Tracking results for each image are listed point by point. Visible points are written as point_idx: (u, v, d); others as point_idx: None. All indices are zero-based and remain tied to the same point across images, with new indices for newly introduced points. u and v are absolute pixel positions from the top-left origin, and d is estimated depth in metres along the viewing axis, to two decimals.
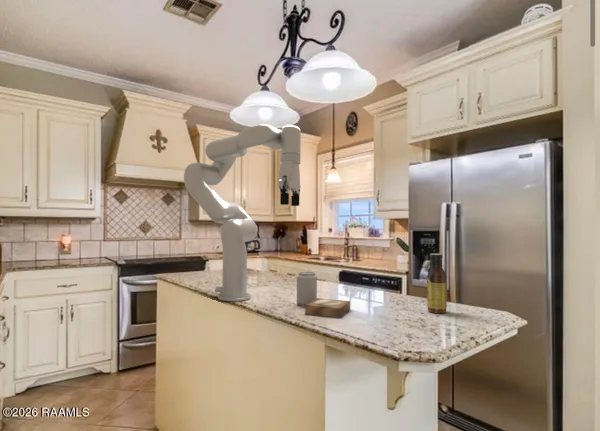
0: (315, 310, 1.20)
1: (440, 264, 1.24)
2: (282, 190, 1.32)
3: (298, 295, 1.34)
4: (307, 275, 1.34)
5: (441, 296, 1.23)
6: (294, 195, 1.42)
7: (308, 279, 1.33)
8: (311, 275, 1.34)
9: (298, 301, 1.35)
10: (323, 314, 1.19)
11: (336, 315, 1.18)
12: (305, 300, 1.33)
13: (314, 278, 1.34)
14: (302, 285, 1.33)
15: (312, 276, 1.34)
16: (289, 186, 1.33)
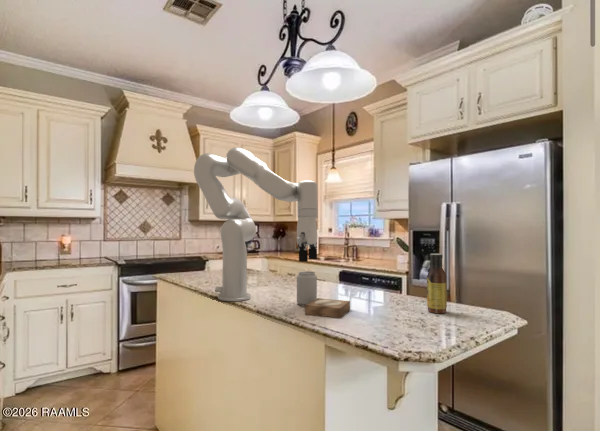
0: (315, 310, 1.20)
1: (440, 264, 1.24)
2: (301, 248, 1.31)
3: (298, 295, 1.34)
4: (307, 275, 1.34)
5: (441, 296, 1.23)
6: (311, 248, 1.41)
7: (308, 279, 1.33)
8: (311, 275, 1.34)
9: (298, 301, 1.35)
10: (323, 314, 1.19)
11: (336, 315, 1.18)
12: (305, 300, 1.33)
13: (314, 278, 1.34)
14: (302, 285, 1.33)
15: (312, 276, 1.34)
16: (307, 243, 1.32)
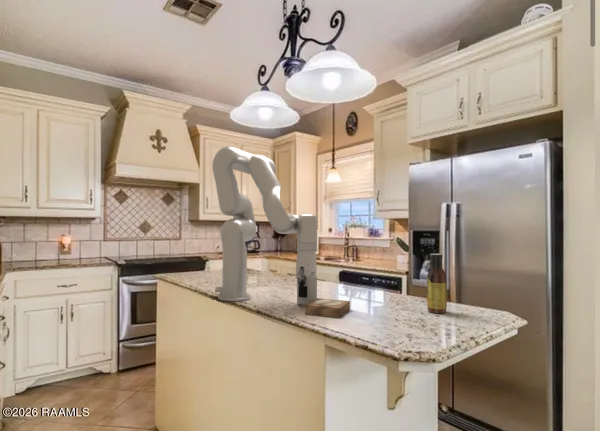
0: (315, 310, 1.20)
1: (440, 264, 1.24)
2: (300, 284, 1.31)
3: None
4: None
5: (441, 296, 1.23)
6: None
7: (308, 279, 1.33)
8: (311, 275, 1.34)
9: (298, 301, 1.35)
10: (323, 314, 1.19)
11: (336, 315, 1.18)
12: (305, 300, 1.33)
13: (314, 278, 1.34)
14: None
15: (312, 276, 1.34)
16: (306, 277, 1.32)
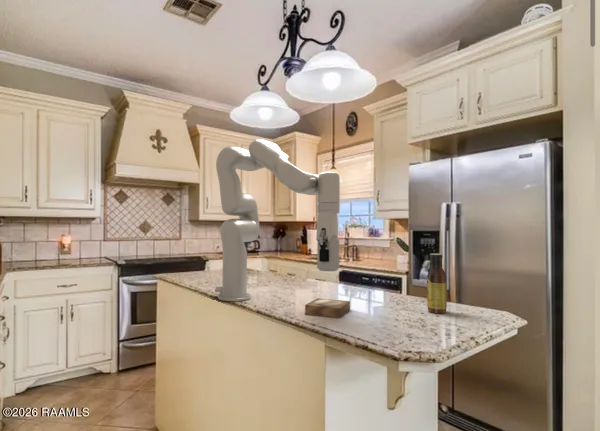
0: (315, 310, 1.20)
1: (440, 264, 1.24)
2: (322, 246, 1.20)
3: None
4: None
5: (441, 296, 1.23)
6: None
7: (330, 242, 1.22)
8: (333, 238, 1.23)
9: (319, 266, 1.23)
10: (323, 314, 1.19)
11: (336, 315, 1.18)
12: (327, 265, 1.22)
13: (337, 241, 1.23)
14: None
15: (335, 239, 1.23)
16: (328, 240, 1.21)
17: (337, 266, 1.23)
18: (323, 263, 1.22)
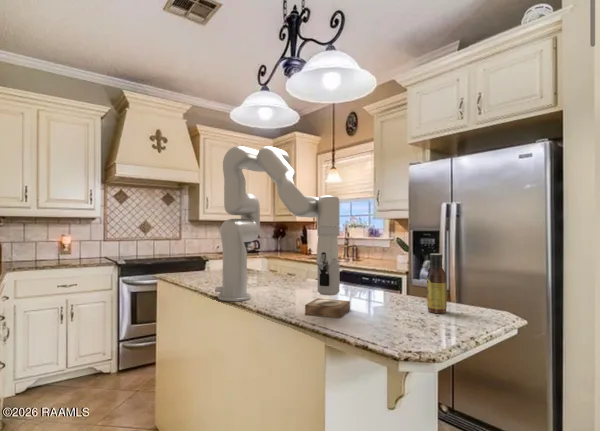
0: (315, 310, 1.20)
1: (440, 264, 1.24)
2: (322, 271, 1.20)
3: None
4: None
5: (441, 296, 1.23)
6: None
7: (330, 266, 1.22)
8: (334, 262, 1.23)
9: (319, 290, 1.23)
10: (323, 314, 1.19)
11: (336, 315, 1.18)
12: (328, 289, 1.21)
13: (337, 265, 1.23)
14: None
15: (335, 263, 1.23)
16: (329, 264, 1.21)
17: (337, 290, 1.23)
18: (323, 287, 1.22)
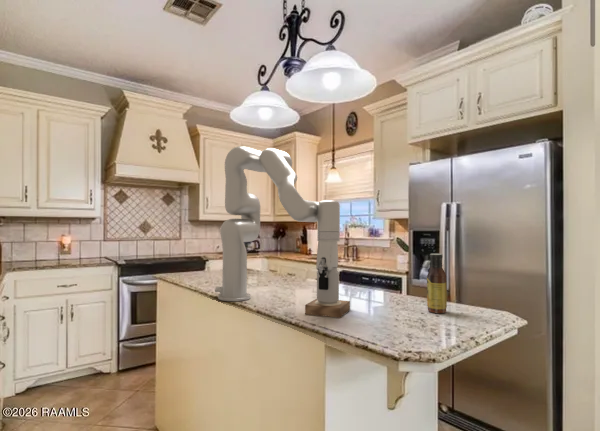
0: (315, 310, 1.20)
1: (440, 264, 1.24)
2: (321, 275, 1.19)
3: (319, 292, 1.23)
4: None
5: (441, 296, 1.23)
6: None
7: (330, 275, 1.22)
8: (333, 270, 1.23)
9: (319, 299, 1.23)
10: (323, 314, 1.19)
11: (336, 315, 1.18)
12: (327, 298, 1.22)
13: (336, 274, 1.23)
14: None
15: (334, 271, 1.23)
16: (329, 269, 1.21)
17: (336, 299, 1.23)
18: (322, 296, 1.22)
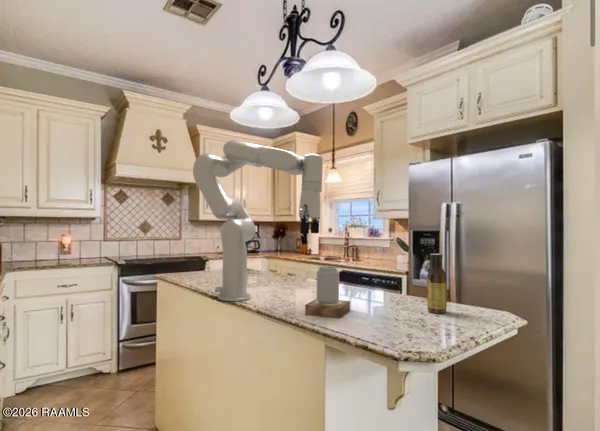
0: (315, 310, 1.20)
1: (440, 264, 1.24)
2: (302, 219, 1.32)
3: (319, 292, 1.23)
4: (329, 270, 1.22)
5: (441, 296, 1.23)
6: (314, 222, 1.42)
7: (330, 275, 1.22)
8: (333, 270, 1.23)
9: (319, 299, 1.23)
10: (323, 314, 1.19)
11: (336, 315, 1.18)
12: (327, 298, 1.22)
13: (336, 274, 1.23)
14: (323, 282, 1.22)
15: (334, 271, 1.23)
16: (309, 215, 1.33)
17: (336, 299, 1.23)
18: (322, 296, 1.22)
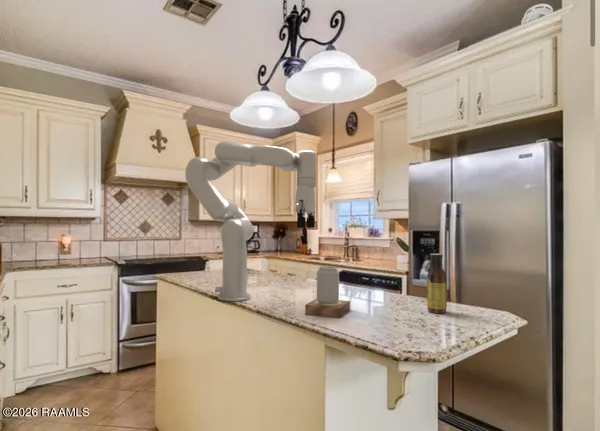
0: (315, 310, 1.20)
1: (440, 264, 1.24)
2: (299, 214, 1.36)
3: (319, 292, 1.23)
4: (329, 270, 1.22)
5: (441, 296, 1.23)
6: (309, 217, 1.46)
7: (330, 275, 1.22)
8: (333, 270, 1.23)
9: (319, 299, 1.23)
10: (323, 314, 1.19)
11: (336, 315, 1.18)
12: (327, 298, 1.22)
13: (336, 274, 1.23)
14: (323, 282, 1.22)
15: (334, 271, 1.23)
16: (306, 210, 1.37)
17: (336, 299, 1.23)
18: (322, 296, 1.22)
